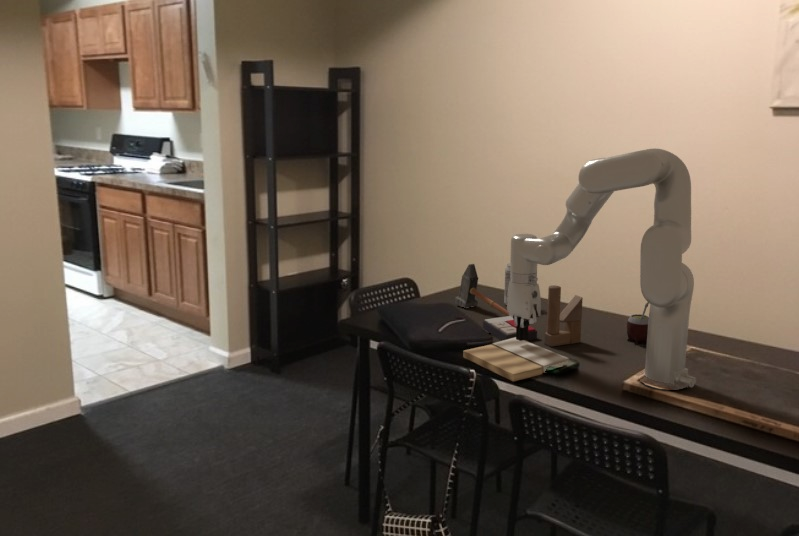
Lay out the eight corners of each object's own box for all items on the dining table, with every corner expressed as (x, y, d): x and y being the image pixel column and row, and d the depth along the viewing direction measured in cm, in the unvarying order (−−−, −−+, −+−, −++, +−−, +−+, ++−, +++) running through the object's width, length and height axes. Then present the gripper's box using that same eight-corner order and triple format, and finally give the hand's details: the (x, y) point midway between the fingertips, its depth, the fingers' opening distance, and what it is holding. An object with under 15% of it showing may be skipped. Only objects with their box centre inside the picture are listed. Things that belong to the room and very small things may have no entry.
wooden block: (580, 342, 213) (583, 285, 209) (550, 347, 209) (552, 288, 205) (573, 339, 216) (576, 282, 212) (543, 343, 212) (545, 285, 209)
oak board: (542, 373, 188) (542, 366, 188) (513, 381, 183) (513, 374, 183) (490, 350, 206) (491, 344, 206) (463, 357, 201) (463, 350, 201)
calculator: (507, 333, 212) (482, 317, 225) (506, 346, 213) (482, 330, 226) (538, 328, 216) (512, 313, 230) (537, 341, 217) (511, 326, 231)
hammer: (518, 298, 226) (460, 262, 249) (509, 341, 233) (454, 302, 255) (531, 295, 230) (473, 260, 252) (522, 337, 236) (466, 300, 258)
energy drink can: (524, 305, 255) (525, 264, 251) (514, 308, 250) (515, 267, 247) (510, 302, 259) (511, 262, 255) (500, 305, 254) (501, 265, 251)
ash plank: (568, 365, 193) (568, 358, 192) (543, 372, 188) (543, 365, 188) (516, 343, 211) (516, 337, 211) (492, 349, 207) (492, 343, 206)
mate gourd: (628, 337, 218) (631, 290, 214) (655, 341, 214) (658, 293, 211) (623, 344, 211) (626, 295, 208) (650, 348, 208) (654, 298, 204)
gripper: (551, 281, 195) (549, 344, 199) (516, 271, 208) (515, 330, 212) (531, 284, 192) (529, 348, 196) (496, 274, 204) (495, 335, 208)
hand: (522, 339), depth 204 cm, fingers closed
